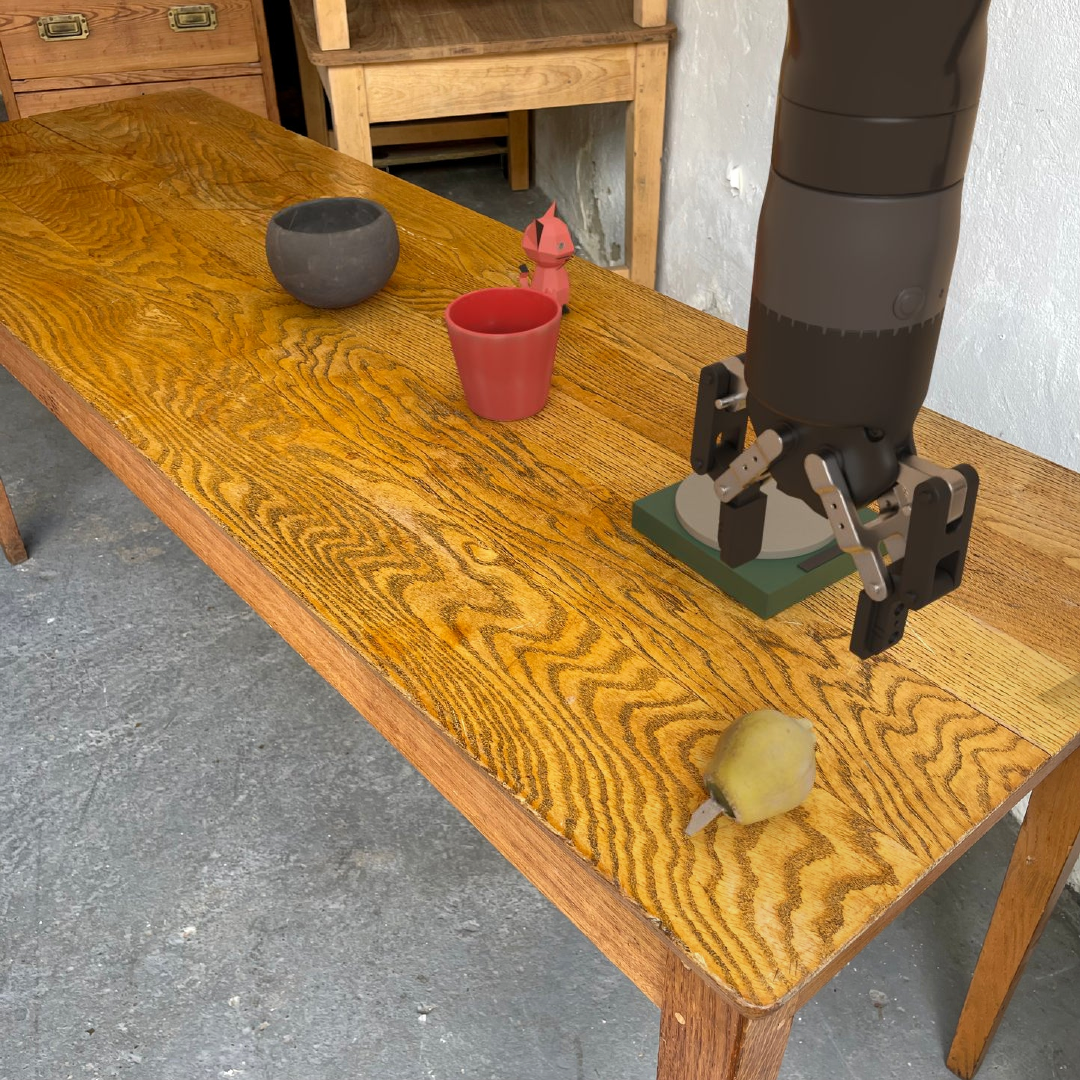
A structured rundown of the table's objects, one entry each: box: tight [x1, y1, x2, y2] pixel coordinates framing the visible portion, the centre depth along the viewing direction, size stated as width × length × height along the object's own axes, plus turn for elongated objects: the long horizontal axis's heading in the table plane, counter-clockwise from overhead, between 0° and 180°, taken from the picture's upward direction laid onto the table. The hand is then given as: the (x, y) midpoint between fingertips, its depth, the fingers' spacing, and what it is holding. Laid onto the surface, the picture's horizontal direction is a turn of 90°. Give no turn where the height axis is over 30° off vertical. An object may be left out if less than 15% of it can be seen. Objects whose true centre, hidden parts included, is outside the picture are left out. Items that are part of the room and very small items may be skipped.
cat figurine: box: [518, 200, 579, 315], centre depth 120 cm, size 7×7×12 cm
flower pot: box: [444, 286, 563, 422], centre depth 104 cm, size 11×11×10 cm
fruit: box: [684, 708, 818, 837], centre depth 64 cm, size 6×6×10 cm
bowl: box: [264, 196, 401, 309], centre depth 126 cm, size 15×15×10 cm
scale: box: [631, 471, 889, 621], centre depth 86 cm, size 15×14×3 cm
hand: (801, 602), depth 53 cm, fingers open, 8 cm apart
